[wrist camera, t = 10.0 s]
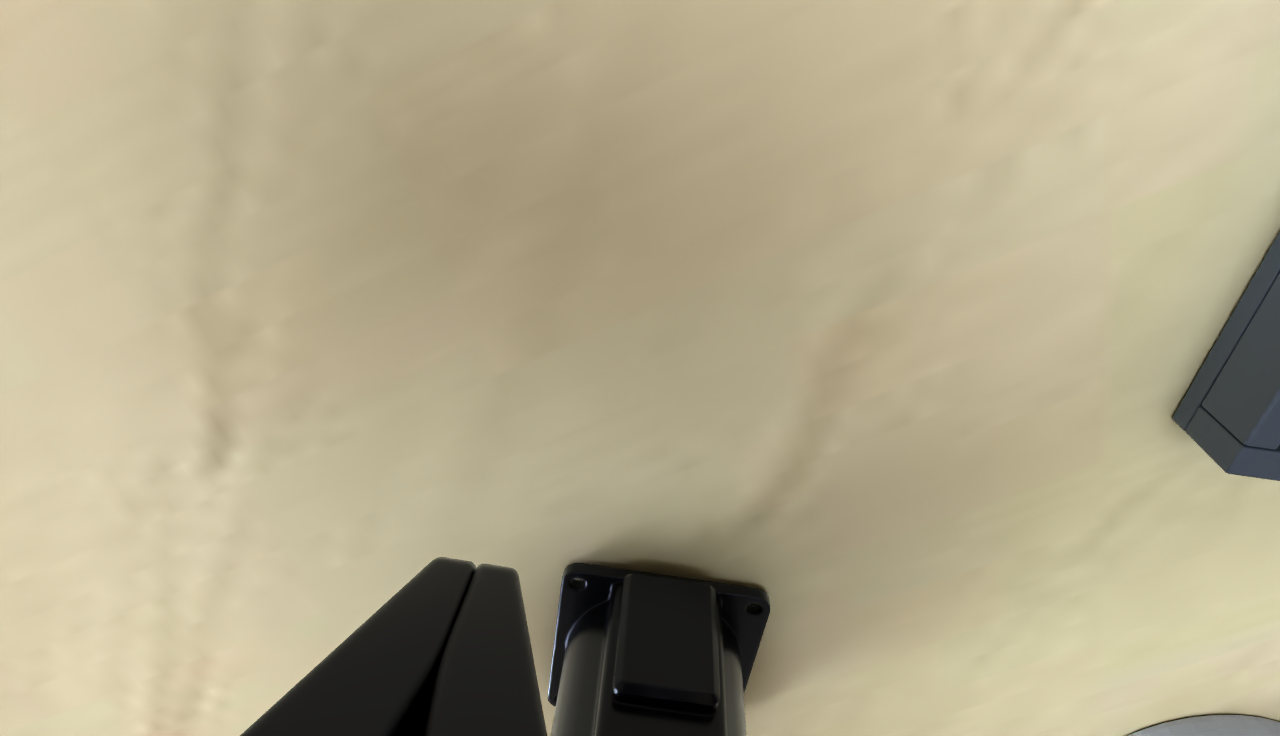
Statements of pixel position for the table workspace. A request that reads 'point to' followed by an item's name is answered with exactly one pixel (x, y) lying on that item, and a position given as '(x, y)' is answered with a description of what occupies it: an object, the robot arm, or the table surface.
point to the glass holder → (1215, 727)
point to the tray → (1242, 383)
